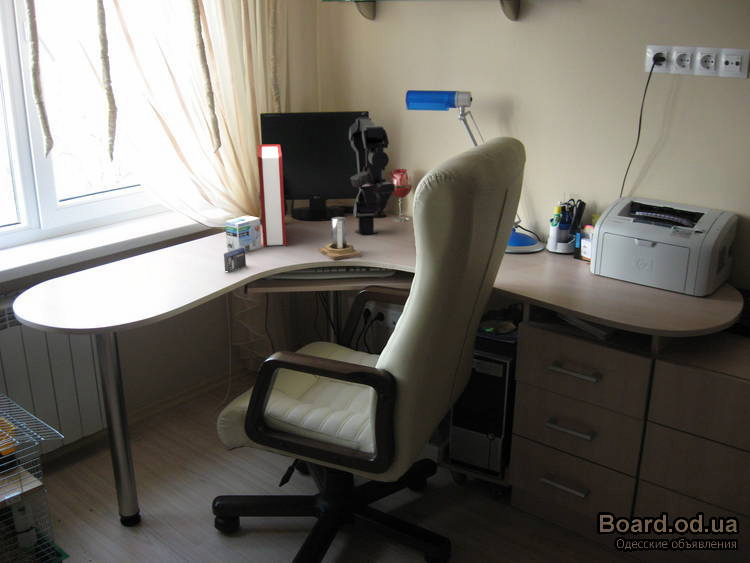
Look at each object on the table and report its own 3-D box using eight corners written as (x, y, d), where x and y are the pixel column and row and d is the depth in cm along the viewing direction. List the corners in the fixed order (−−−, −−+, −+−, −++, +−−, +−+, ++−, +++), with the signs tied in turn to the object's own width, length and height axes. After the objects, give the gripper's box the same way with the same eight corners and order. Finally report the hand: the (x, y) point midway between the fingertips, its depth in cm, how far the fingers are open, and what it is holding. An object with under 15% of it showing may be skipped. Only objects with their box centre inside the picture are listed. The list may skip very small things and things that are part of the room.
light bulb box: (239, 254, 251) (237, 223, 248) (226, 251, 255) (224, 220, 252) (262, 247, 259) (260, 217, 256) (249, 244, 263) (247, 214, 260)
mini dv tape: (228, 272, 232) (227, 254, 230) (225, 271, 233) (223, 253, 231) (246, 265, 239) (244, 248, 237) (242, 265, 240) (241, 247, 238)
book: (286, 246, 260) (281, 155, 250) (263, 247, 259) (257, 156, 249) (284, 227, 286) (279, 144, 275) (263, 228, 285) (258, 144, 274)
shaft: (331, 248, 253) (330, 217, 249) (346, 248, 253) (345, 216, 250) (332, 252, 248) (331, 220, 244) (347, 252, 248) (346, 220, 245)
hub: (318, 251, 253) (318, 244, 253) (344, 247, 258) (344, 240, 257) (333, 260, 244) (333, 252, 243) (360, 256, 248) (360, 248, 247)
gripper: (340, 162, 256) (342, 206, 261) (366, 170, 241) (367, 216, 246) (369, 159, 261) (369, 202, 266) (395, 167, 246) (395, 212, 251)
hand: (374, 208), depth 257 cm, fingers open, 9 cm apart
